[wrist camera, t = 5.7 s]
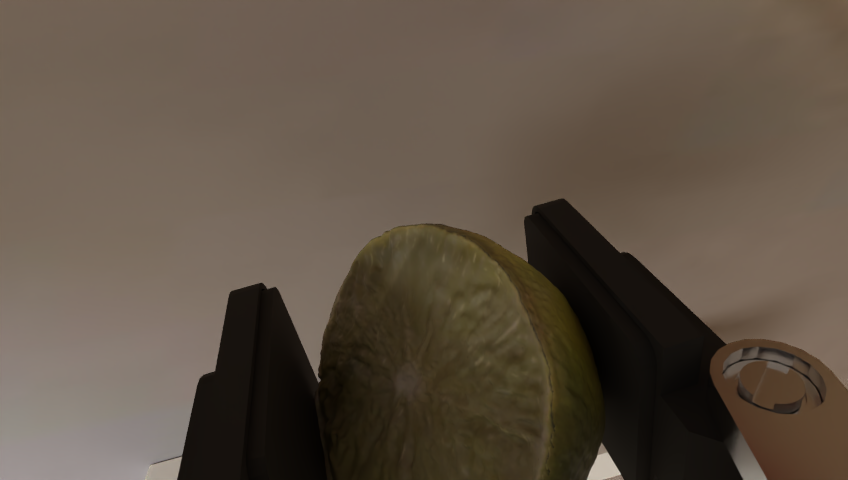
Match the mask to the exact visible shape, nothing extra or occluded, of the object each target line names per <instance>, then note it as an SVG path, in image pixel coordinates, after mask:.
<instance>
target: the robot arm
mask: <svg viewBox="0 0 848 480" xmlns="http://www.w3.org/2000/svg"><path fill="white" fill-rule="evenodd" d="M524 225H525V235H526V245H527V254H528V263H529V264H530V265H531V266H533V267H534V268H535V269H536V270H537V271H539V272H541V274H542V275H544V277H546V278H547V279H548V280H549V281H550V282H551V283H552V284H553V285H554V286H555V287H557V288H558V289H559V291H560V292H561V293H562V294H563V295H564V296H565V297H566V299H567V301H568V303H569V305H570V306H571V308H572V309H573V311H574V313H575V314H576V315H577V317H578V318H579V321H580V324H581V326H582V328H583V330H584V332H585V334H586V336H587V339H588V342H589V344H590V346H591V349H592V353H593V356H594V361H595V364H596V367H597V369H598V376H599V380H600V383H601V388H602V392H603V397H604V405H605V417H606V419H605V430H604V435H603V440H602V444H603V445H604V447H605V449H606V450H607V452H608V454H609V455H610V457H611V459H612V460H613V462H614V464H615V465H616V467H617V469H618V470H619V472H620V473H621V475H622V477H623V478H624V480H848V390H847V389H846V388H845V387H844V385H843V384H842V383H841V382H840V380H839V379H838V378H837V377H836V376H835V374H834V373H833V372H832V371H831V370H830V369H829V368H828V367H827V366H825V365H824V364H823V363H822V362H821V361H820V360H819V359H817V358H815V357H814V356H812V355H810V354H809V353H807V352H805V351H804V350H802V349H799V348H796V347H794V346H791V345H788V344H785V343H782V342H777V341H771V340H766V339H744V340H740V341H736V342H731V343H729V344H727V345H726V344H725V343H724V342H723V341H722V340H721V339H720V338H719V337H718V336H717V335H716V334H715V333H714V332H713V331H712V330H711V329H710V328H709V327H708V326H706V325H705V324H704V323H703V322H702V321H701V320H700V319H699V318H698V317H697V316H696V315H695V314H694V313H693V312H692V311H691V310H690V309H689V308H688V307H687V306H685V305H684V304H683V303H682V302H681V301H680V300H679V299H678V298H677V297H676V296H675V295H674V294H673V293H672V292H671V291H670V290H669V289H668V288H667V287H665V286H664V285H663V284H662V283H661V282H660V281H659V280H658V279H657V278H656V277H655V276H654V275H653V274H652V273H651V272H650V271H649V270H648V269H647V268H645V267H644V266H643V265H642V264H641V263H640V262H639V261H638V260H637V259H636V258H635V257H634V256H632V255H631V254H629V253H625V252H622V253H619V252H618V251H617V250H616V249H615V248H614V247H613V246H612V245H611V244H610V243H609V242H608V241H607V240H606V239H605V238H604V237H603V236H602V235H601V234H600V233H599V232H598V231H597V230H596V229H595V228H594V227H593V226H592V225H591V224H590V223H589V222H588V221H587V220H586V219H585V218H584V217H583V216H582V215H581V214H580V213H579V212H578V211H577V210H576V209H575V208H573V207H572V206H571V205H570V204H569V203H568V202H567V201H566V200H565V199H558V200H555V201H551V202H547V203H544V204H540V205H537V206H534V207H533V210H532V215H529V216H526V217H525V220H524ZM318 388H319V383H318V381H317V378H316V376H315V374H314V372H313V369H312V367H311V365H310V362H309V360H308V358H307V355H306V353H305V351H304V348H303V346H302V344H301V341H300V339H299V337H298V334H297V332H296V330H295V327H294V325H293V323H292V320H291V318H290V316H289V314H288V311H287V309H286V307H285V304H284V302H283V300H282V297H281V295H280V293H279V291H278V289H277V288H276V287H274V288H270V289H267V288H266V286H265V285H264V284H263V283H259V284H255V285H252V286H248V287H244V288H241V289H237V290H234V291H231V292H230V294H229V298H228V304H227V309H226V315H225V320H224V326H223V331H222V337H221V343H220V348H219V354H218V359H217V365H216V370H215V372H212V373H208V374H205V375H203V376H202V377H201V378H200V380H199V382H198V385H197V389H196V394H195V399H194V403H193V408H192V413H191V417H190V422H189V427H188V431H187V436H186V440H185V445H184V450H183V454H182V459H181V464H180V468H179V473H178V478H177V480H327V475H326V467H325V457H324V451H323V447H322V442H321V436H320V430H319V423H318V417H317V412H316V406H315V400H314V397H315V391H316V390H317V389H318Z"/></svg>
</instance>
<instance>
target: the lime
mask: <svg viewBox="0 0 848 480" xmlns="http://www.w3.org/2000/svg"><path fill="white" fill-rule="evenodd" d="M320 354H321V360H320V366H319V369H318V371H319V373H318V377H319V378H320V379H321V381H320V382H319V388H318V389H317V390H316V391H315V397H314V400H315V406H316V412H317V417H318V423H319V430H320V436H321V442H322V447H323V451H324V457H325V467H326V475H327V480H587V478H588V475H589V472H590V470H591V468H592V466H593V465H594V462H595V460H596V458H597V455H598V450H599V448H600V446H601V443H602V440H603V435H604V430H605V419H606V417H605V405H604V397H603V392H602V388H601V383H600V380H599V376H598V369H597V367H596V364H595V361H594V356H593V353H592V349H591V346H590V344H589V342H588V339H587V336H586V334H585V332H584V330H583V328H582V326H581V324H580V321H579V318H578V317H577V315H576V314H575V313H574V311H573V309H572V308H571V306H570V305H569V303H568V301H567V299H566V297H565V296H564V295H563V294H562V293H561V292H560V291H559V289H558V288H557V287H555V286H554V285H553V284H552V283H551V282H550V281H549V280H548V279H547V278H546V277H544V275H542V274H541V272H539V271H537V270H536V269H535V268H534V267H533V266H531V265H530V264H529V263H527V262H526V261H525V260H523V259H522V258H520V257H518V256H516V255H514V254H513V253H511V252H509V251H508V250H506V249H504V248H503V247H502V246H501V245H499V244H496V243H495V242H494V241H492V240H490V239H488V238H487V237H484V236H482V235H479V234H477V233H472V232H470V231H467V230H461V229H457V228H452V227H449V226H446V225H443V224H418V225H408V226H398V227H395V228H393V229H391V231H386V232H384V234H383V235H382V236H379V237H377V238H374V239H372V240H371V241H370V242H369V243H368V244H367V245H366V246H365V247H364V248H363V249H362V250H361V251H360V253H359V254H358V256H357V257H356V259H355V260H354V262H353V263H352V265H351V268H350V271H349V273H348V275H347V276H346V278H345V280H344V282H343V284H342V286H341V288H340V290H339V292H338V294H337V296H336V299H335V302H334V305H333V308H332V311H331V314H330V319H329V322H328V324H327V326H326V329H325V331H324V335H323V341H322V350H321V353H320Z"/></svg>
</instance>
